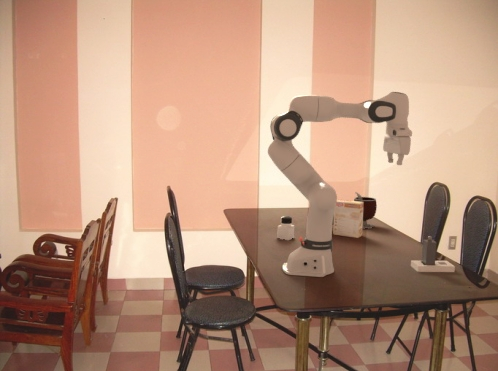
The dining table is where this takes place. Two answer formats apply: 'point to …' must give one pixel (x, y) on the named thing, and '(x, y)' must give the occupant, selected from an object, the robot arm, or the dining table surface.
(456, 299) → the dining table surface
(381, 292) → the dining table surface
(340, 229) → the coffeecake box
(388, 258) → the dining table surface
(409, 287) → the dining table surface
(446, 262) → the beige holder tray
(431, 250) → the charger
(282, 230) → the medicine bottle
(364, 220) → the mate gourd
